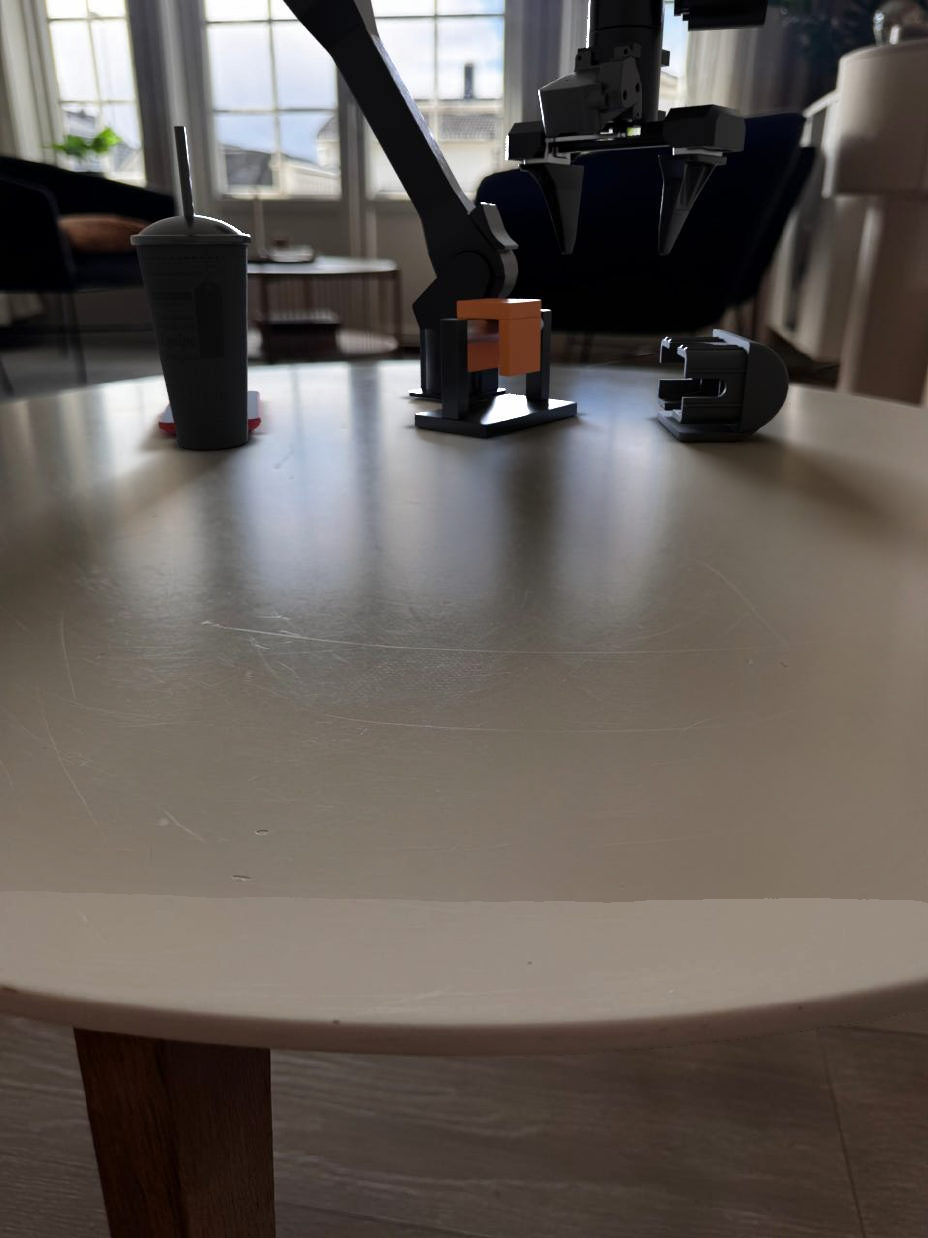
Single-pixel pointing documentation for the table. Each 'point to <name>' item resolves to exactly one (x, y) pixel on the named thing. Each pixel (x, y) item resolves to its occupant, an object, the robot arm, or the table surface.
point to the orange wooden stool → (505, 335)
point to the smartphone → (253, 414)
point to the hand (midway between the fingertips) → (613, 254)
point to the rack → (496, 411)
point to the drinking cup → (199, 318)
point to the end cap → (720, 387)
